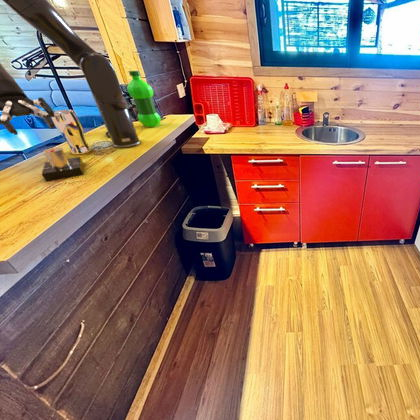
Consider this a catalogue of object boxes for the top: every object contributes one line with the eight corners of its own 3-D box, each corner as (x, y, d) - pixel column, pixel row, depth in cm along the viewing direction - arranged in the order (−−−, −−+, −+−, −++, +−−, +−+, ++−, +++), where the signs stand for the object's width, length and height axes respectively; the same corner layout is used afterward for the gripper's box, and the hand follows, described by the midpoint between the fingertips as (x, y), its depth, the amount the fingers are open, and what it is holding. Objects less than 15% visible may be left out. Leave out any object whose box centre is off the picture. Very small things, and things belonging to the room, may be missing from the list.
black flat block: (49, 169, 86) (44, 161, 85) (83, 163, 91) (79, 156, 90) (45, 181, 79) (41, 173, 78) (83, 174, 84) (79, 167, 82)
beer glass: (72, 149, 101) (52, 110, 93) (94, 147, 104) (76, 109, 96) (67, 156, 96) (45, 114, 88) (91, 153, 99) (71, 113, 91)
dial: (53, 165, 83) (43, 148, 80) (70, 162, 86) (61, 145, 82) (52, 170, 80) (41, 152, 77) (70, 166, 83) (60, 149, 79)
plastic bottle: (166, 123, 137) (151, 70, 123) (156, 128, 128) (138, 72, 114) (147, 122, 137) (130, 69, 123) (136, 128, 128) (115, 71, 114)
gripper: (-39, 79, 72) (-1, 128, 73) (30, 76, 82) (62, 119, 84) (-30, 97, 78) (5, 142, 79) (34, 92, 88) (64, 132, 89)
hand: (34, 130), depth 81 cm, fingers open, 8 cm apart
